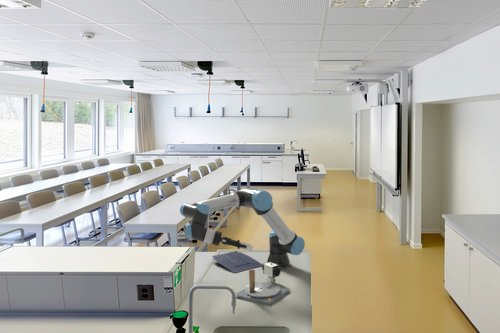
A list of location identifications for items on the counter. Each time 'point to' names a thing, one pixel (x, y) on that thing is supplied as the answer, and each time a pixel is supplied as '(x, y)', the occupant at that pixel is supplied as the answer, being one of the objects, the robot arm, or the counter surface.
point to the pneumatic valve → (271, 271)
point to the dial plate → (263, 300)
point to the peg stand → (260, 288)
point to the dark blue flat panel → (236, 261)
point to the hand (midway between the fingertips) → (251, 247)
